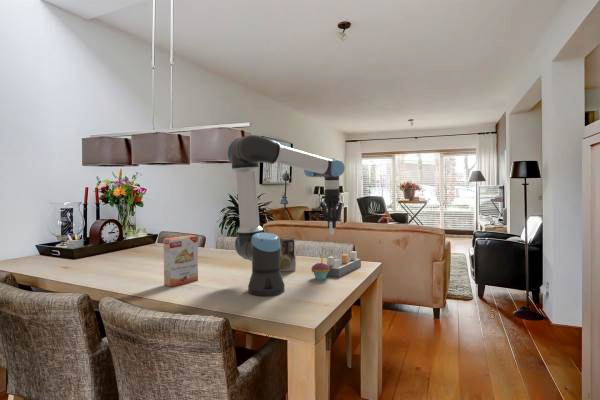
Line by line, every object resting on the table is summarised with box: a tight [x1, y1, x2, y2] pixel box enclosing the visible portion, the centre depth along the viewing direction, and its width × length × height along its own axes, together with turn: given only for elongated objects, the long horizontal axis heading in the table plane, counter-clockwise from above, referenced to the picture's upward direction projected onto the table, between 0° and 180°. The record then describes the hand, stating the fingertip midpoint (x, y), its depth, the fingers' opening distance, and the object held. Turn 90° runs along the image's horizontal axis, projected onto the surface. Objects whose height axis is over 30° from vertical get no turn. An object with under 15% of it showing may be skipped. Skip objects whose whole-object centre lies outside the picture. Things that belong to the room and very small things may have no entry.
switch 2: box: [341, 253, 350, 263], centre depth 177 cm, size 3×2×4 cm
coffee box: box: [279, 237, 297, 272], centre depth 179 cm, size 9×6×16 cm
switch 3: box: [349, 250, 358, 260], centre depth 184 cm, size 3×2×4 cm
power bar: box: [326, 257, 362, 278], centre depth 178 cm, size 26×9×4 cm, turn 147°
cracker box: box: [163, 234, 199, 288], centre depth 157 cm, size 14×6×21 cm, turn 139°
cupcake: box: [311, 252, 330, 281], centre depth 163 cm, size 9×8×12 cm
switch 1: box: [326, 256, 335, 266], centre depth 171 cm, size 3×2×4 cm
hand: (331, 234), depth 180 cm, fingers closed
